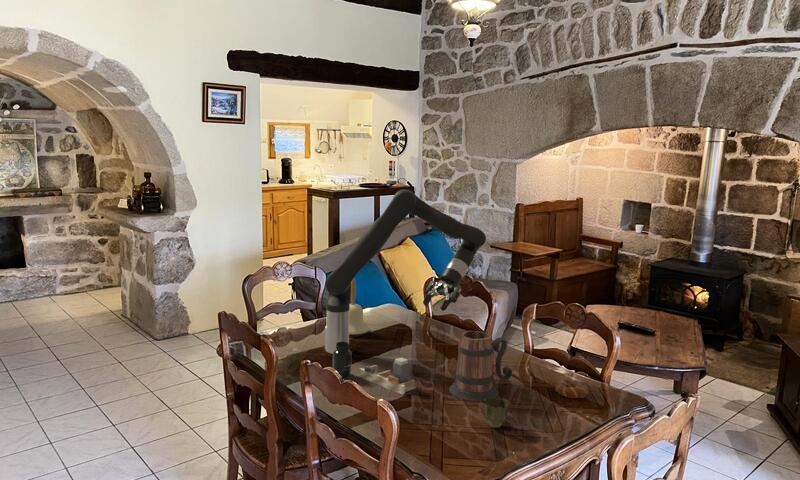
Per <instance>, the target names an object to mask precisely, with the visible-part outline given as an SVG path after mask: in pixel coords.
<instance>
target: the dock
mask: <svg viewBox="0 0 800 480" xmlns="http://www.w3.org/2000/svg"><path fill="white" fill-rule="evenodd" d="M391 373H392V371H391V370H390V369H388V370H385V371H381V372H378V365H377V364H373V365H370V366H369V365H365V366H364V368H362V367H360V368H358V377H359V378H362V379H364V380H366V381H368V382H371V383H373V384H375V385H378V386H380V387H383V388H385V389H387V390H389V391H392V392H394V393H397V394H399V395H405V394H406V392H410V391H412V390H414V389H416V379H411V380H410V379H409V381H407V382H404V383H402V384H400V383H399V378H397V377H394V376H393V375H391Z"/></svg>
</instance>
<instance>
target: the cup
mask: <svg viewBox="0 0 800 480" xmlns="http://www.w3.org/2000/svg"><path fill="white" fill-rule="evenodd" d="M483 402H484V413H485V418H486V420H487V421H488V422H489V423H488V424H489V426H490V428H492V429H500V428H501V427H502V425H503V423H504V422H505V421H506V420H507V418H508V414H509V413H508V412H509V409H510V401H509V400H508V399H506V398H504V397H502V398H501V397H500V396H496V397H491V398H490V399H489V398H487V399H485V400H484V401H483Z"/></svg>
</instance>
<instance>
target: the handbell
mask: <svg viewBox="0 0 800 480" xmlns="http://www.w3.org/2000/svg"><path fill="white" fill-rule="evenodd" d="M356 285H357V283H356V278H354V279H353V280H352V281H351V300H350V308H349V335H362V334H365V333H368V332H369V330H370V327H369V325H368V324H367V323H366V322H365V321H364V310H363V307H362V306H361V305H360V304H357V303H356V295H357V286H356Z"/></svg>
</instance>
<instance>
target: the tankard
mask: <svg viewBox="0 0 800 480" xmlns="http://www.w3.org/2000/svg"><path fill="white" fill-rule="evenodd" d="M492 339H493V338H492V335H491V334H489V333H487V332H483V331H477V330H467V331H466V330H465V331H464V332H462V333H461V336H460V339H459V343H458V345H457V346H458V347H457V349H458V350H457V351H458V354H457V364H456V365H457V367H456V370H455V381H453V383H452V384H451V386H449V390H448V391H449V393H450V394H452V396H454V397H456V398H458V399H462V400H466V401H472V402H473V401H474V402H476V401H477V402H480V401H482V402H484V400H485V399H487V398H489V399H490V398H491V397H496V398H497V397H498V395H499V391H498V389H497V388H496V386H495V384H493V382H494V381H493V380H494V373H493V367H494V366H493V363H494V362H493V360H494V359H493V356H494V355H493V354H494V352H496V353H497V355H496V358H495V371H496V375H497V377H498V378H499V379H501V380H503V381H508V380H510V379H511V378H512V376H513V370H512V369H511V367H508V366H504V367H503V368H501V367H502V366H501V365H502V360H503V357H504V354H505V352H506V350H507V346H508V345H507V344H508V343H507V341H506V340H505V339H504V338H503V337H497V338H496V339H494V340H493V341H492ZM500 343H501V344H500ZM502 373H503V374H502Z"/></svg>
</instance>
